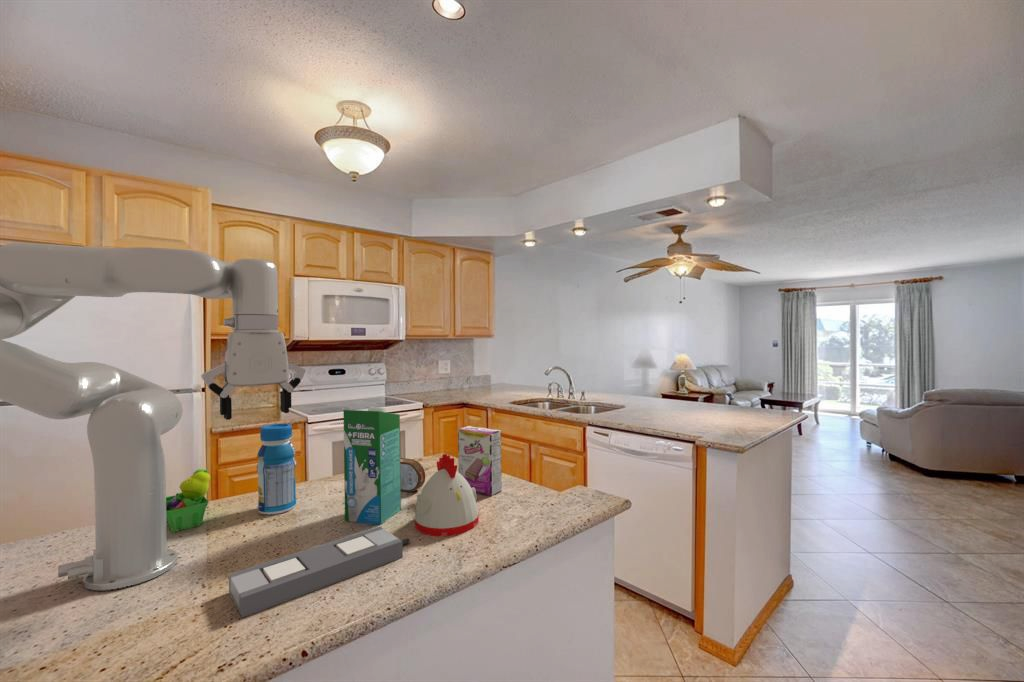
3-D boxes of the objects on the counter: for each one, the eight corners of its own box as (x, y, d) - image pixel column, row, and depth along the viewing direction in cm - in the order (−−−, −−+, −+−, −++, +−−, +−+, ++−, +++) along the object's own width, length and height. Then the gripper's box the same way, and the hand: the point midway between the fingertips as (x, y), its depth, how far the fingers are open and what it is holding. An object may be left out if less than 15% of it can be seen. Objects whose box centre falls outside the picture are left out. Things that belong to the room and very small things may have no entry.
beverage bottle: (278, 517, 102) (277, 430, 102) (248, 514, 104) (247, 428, 104) (304, 504, 110) (303, 423, 110) (276, 501, 112) (275, 422, 112)
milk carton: (401, 509, 105) (399, 404, 105) (380, 525, 97) (378, 410, 97) (368, 506, 108) (366, 403, 108) (344, 521, 99) (342, 409, 99)
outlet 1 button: (271, 592, 69) (271, 580, 69) (263, 580, 73) (263, 568, 73) (305, 580, 73) (305, 568, 73) (295, 569, 76) (295, 557, 76)
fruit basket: (158, 520, 101) (157, 471, 101) (205, 509, 107) (204, 463, 107) (165, 536, 93) (165, 482, 93) (216, 523, 99) (215, 472, 99)
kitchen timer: (432, 542, 88) (431, 467, 88) (404, 520, 100) (404, 453, 99) (490, 524, 97) (489, 456, 97) (459, 505, 108) (458, 444, 108)
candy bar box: (457, 489, 119) (456, 428, 119) (468, 484, 123) (468, 425, 123) (491, 497, 113) (491, 432, 113) (502, 491, 118) (501, 429, 117)
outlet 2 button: (347, 565, 77) (347, 554, 77) (336, 555, 81) (336, 544, 81) (374, 555, 81) (374, 544, 81) (362, 546, 84) (362, 536, 84)
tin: (426, 490, 119) (425, 459, 118) (419, 494, 116) (419, 462, 116) (380, 484, 124) (380, 454, 124) (373, 488, 121) (372, 457, 121)
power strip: (241, 618, 65) (241, 597, 65) (228, 592, 71) (228, 574, 71) (421, 550, 85) (421, 534, 85) (398, 535, 92) (398, 520, 92)
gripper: (204, 324, 76) (205, 424, 76) (310, 325, 87) (311, 412, 88) (197, 325, 81) (198, 418, 81) (297, 326, 93) (299, 408, 93)
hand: (257, 415), depth 84 cm, fingers open, 9 cm apart
